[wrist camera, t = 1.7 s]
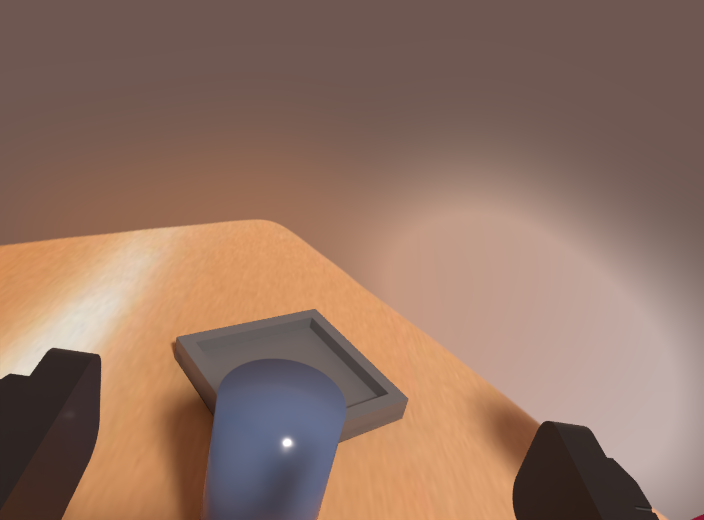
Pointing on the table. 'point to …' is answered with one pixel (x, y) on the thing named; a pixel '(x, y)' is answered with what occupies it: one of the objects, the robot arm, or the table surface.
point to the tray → (297, 345)
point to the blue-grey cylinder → (272, 442)
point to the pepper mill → (699, 517)
